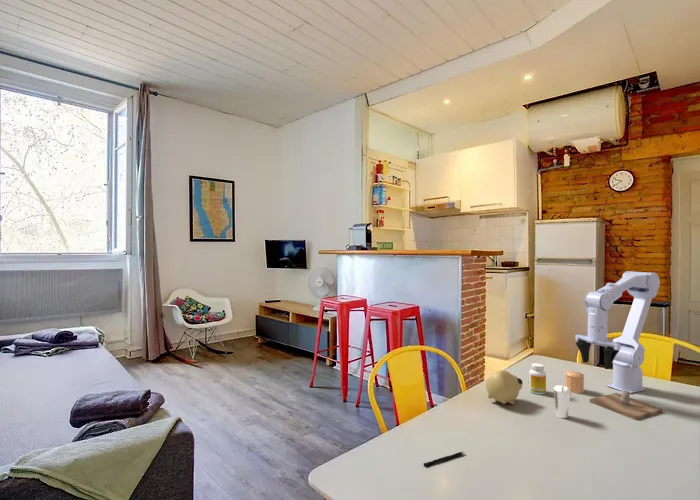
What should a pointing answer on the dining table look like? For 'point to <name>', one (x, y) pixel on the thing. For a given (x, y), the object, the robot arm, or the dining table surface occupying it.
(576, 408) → the dining table surface
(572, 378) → the wire nut cap
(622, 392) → the post block
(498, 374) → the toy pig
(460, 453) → the black stick
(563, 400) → the milkshake
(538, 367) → the supplement bottle
